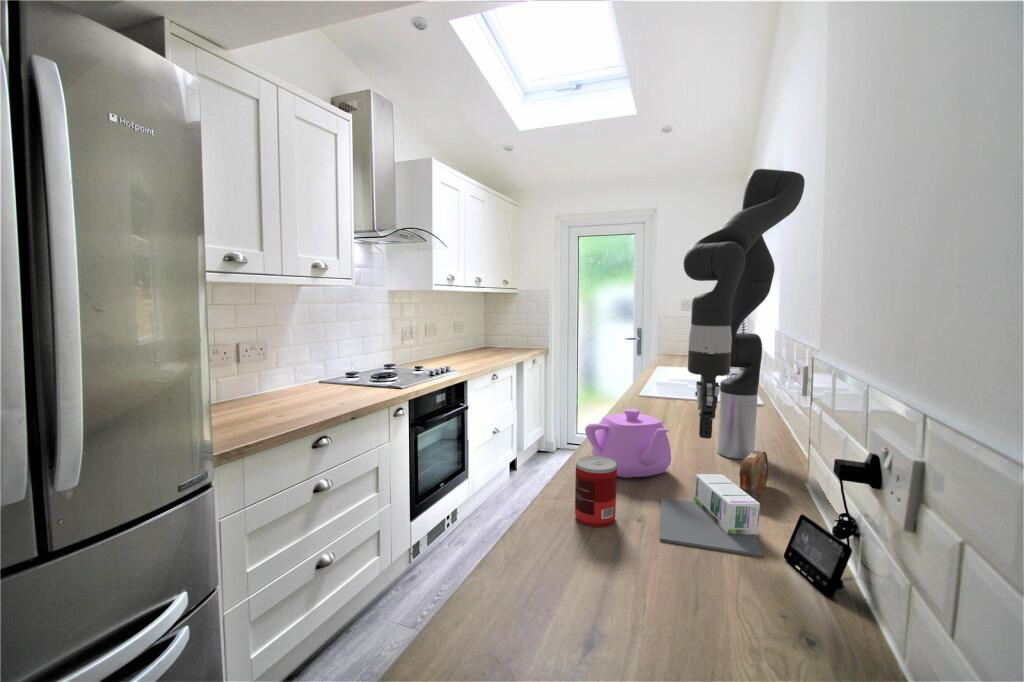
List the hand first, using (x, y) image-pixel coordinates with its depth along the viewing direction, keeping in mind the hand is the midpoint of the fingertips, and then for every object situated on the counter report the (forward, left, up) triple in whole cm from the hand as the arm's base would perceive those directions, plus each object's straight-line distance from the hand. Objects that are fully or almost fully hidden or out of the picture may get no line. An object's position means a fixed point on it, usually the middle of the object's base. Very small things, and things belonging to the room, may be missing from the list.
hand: (705, 437), depth 92 cm
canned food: (+9, -20, -16) cm, 27 cm away
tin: (-15, +12, -16) cm, 25 cm away
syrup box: (-6, +2, -12) cm, 13 cm away
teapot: (-20, -15, -16) cm, 29 cm away
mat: (+5, 0, -15) cm, 16 cm away
